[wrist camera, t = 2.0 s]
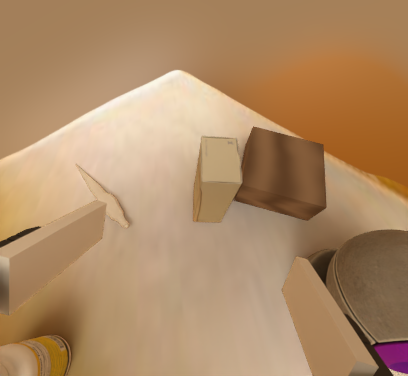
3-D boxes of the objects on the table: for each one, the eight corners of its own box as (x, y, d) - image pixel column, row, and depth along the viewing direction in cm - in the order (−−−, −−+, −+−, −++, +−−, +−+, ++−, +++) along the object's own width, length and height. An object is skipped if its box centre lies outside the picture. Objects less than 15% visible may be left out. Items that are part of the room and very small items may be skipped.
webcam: (298, 346, 25) (426, 388, 12) (294, 241, 31) (375, 196, 18) (405, 369, 25) (648, 436, 12) (379, 259, 31) (521, 226, 18)
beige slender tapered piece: (138, 224, 30) (134, 219, 29) (122, 236, 29) (118, 232, 28) (85, 163, 36) (80, 156, 34) (70, 172, 34) (64, 165, 33)
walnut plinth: (307, 162, 39) (323, 144, 35) (307, 220, 33) (326, 207, 29) (245, 146, 40) (253, 126, 35) (234, 200, 34) (242, 184, 29)
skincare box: (193, 186, 34) (199, 133, 24) (220, 188, 35) (238, 136, 24) (192, 223, 31) (199, 181, 21) (222, 224, 32) (243, 183, 21)
